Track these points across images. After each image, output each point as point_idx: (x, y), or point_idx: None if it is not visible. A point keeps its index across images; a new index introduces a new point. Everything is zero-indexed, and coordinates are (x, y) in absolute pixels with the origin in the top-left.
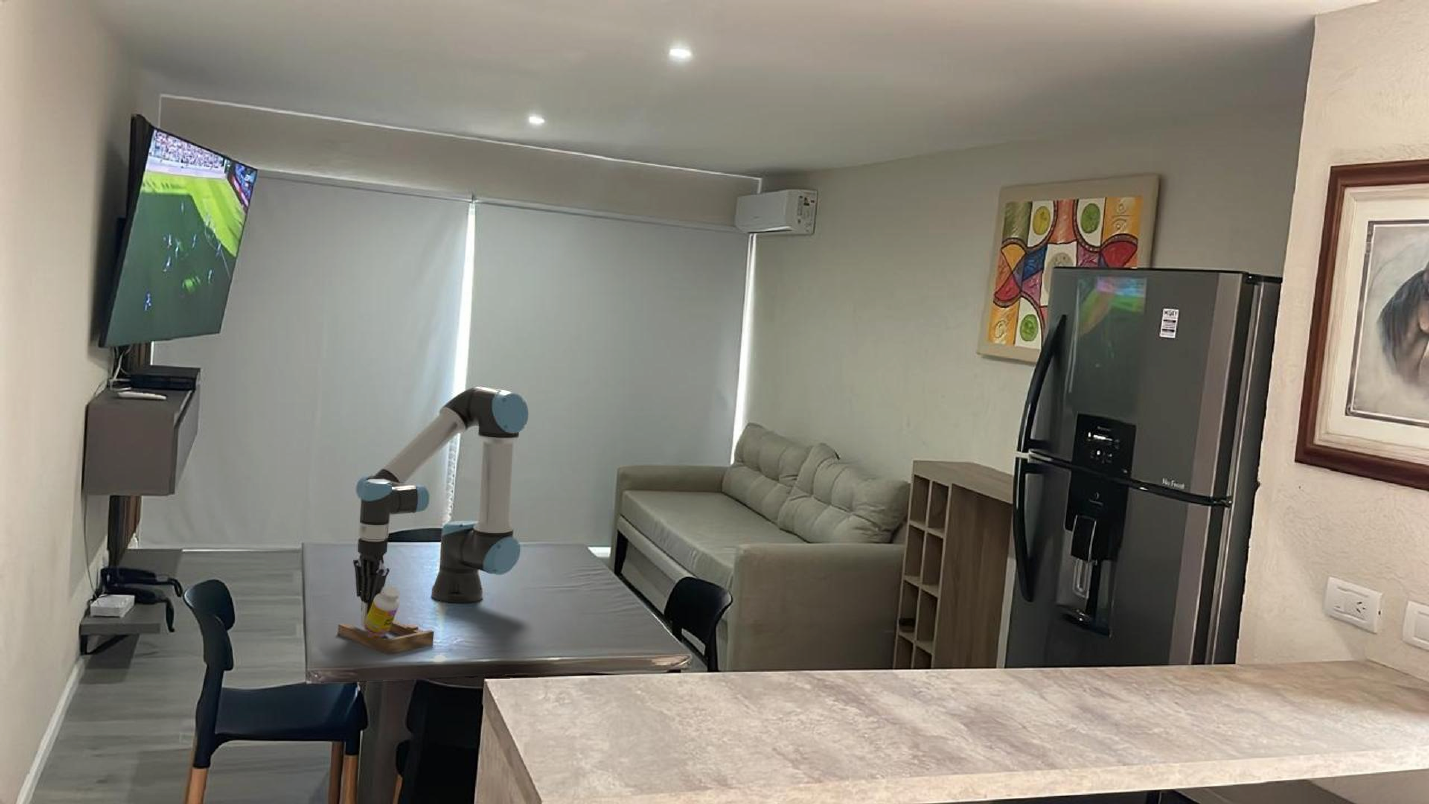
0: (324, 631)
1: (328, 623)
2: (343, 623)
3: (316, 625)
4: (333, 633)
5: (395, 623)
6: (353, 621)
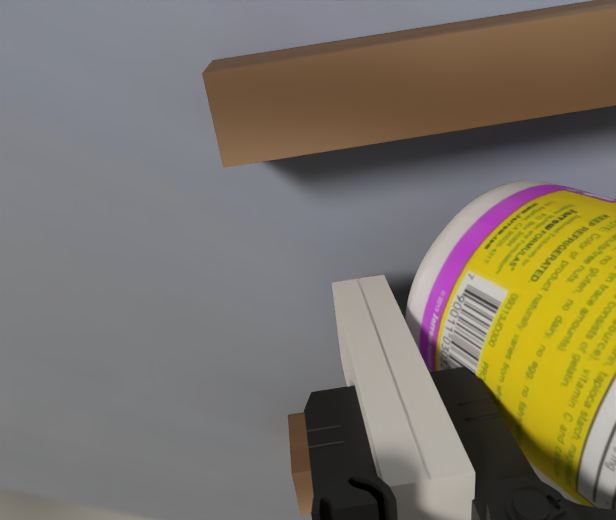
0: (215, 497)
1: (29, 431)
2: (302, 486)
3: (60, 499)
4: (280, 471)
5: (568, 100)
6: (14, 260)
